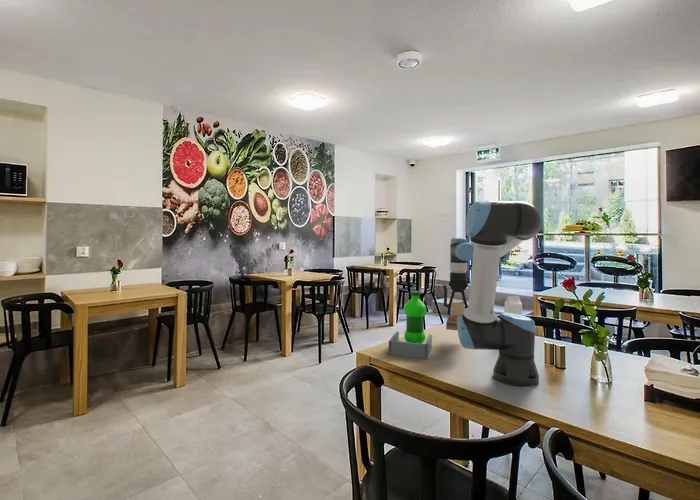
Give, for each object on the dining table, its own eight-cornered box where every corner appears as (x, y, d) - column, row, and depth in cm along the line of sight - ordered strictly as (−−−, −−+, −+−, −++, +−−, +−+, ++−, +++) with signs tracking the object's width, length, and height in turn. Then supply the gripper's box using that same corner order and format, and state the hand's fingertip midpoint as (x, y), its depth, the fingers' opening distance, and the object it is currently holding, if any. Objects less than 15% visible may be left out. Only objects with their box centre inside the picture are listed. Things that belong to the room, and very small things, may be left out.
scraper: (466, 331, 156) (466, 307, 156) (446, 329, 159) (446, 306, 158) (467, 317, 183) (467, 297, 182) (450, 316, 185) (450, 296, 185)
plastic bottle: (424, 348, 169) (425, 293, 167) (401, 346, 172) (402, 292, 171) (427, 342, 178) (428, 290, 177) (405, 340, 181) (406, 289, 180)
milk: (503, 339, 184) (504, 295, 183) (515, 339, 184) (516, 295, 183) (508, 343, 178) (509, 297, 177) (521, 343, 178) (522, 297, 177)
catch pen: (427, 359, 155) (427, 345, 155) (388, 354, 160) (388, 340, 160) (431, 347, 170) (431, 334, 170) (396, 344, 175) (396, 331, 175)
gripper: (479, 271, 171) (478, 322, 171) (439, 270, 176) (438, 319, 177) (479, 273, 163) (478, 325, 164) (437, 271, 169) (436, 322, 170)
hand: (457, 322), depth 171 cm, fingers closed on scraper, 5 cm apart
